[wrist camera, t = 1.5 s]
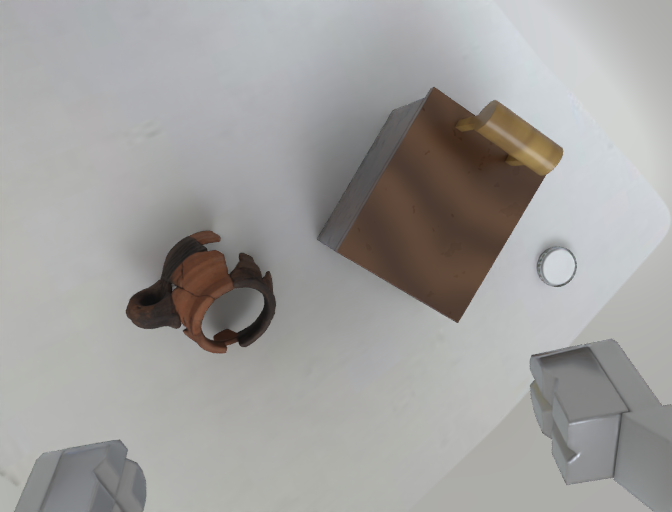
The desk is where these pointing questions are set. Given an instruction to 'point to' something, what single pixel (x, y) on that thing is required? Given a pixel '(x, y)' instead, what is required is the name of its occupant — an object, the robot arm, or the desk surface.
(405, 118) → the box
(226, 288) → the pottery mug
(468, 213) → the chest lid
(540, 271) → the white flat disc
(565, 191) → the desk surface
